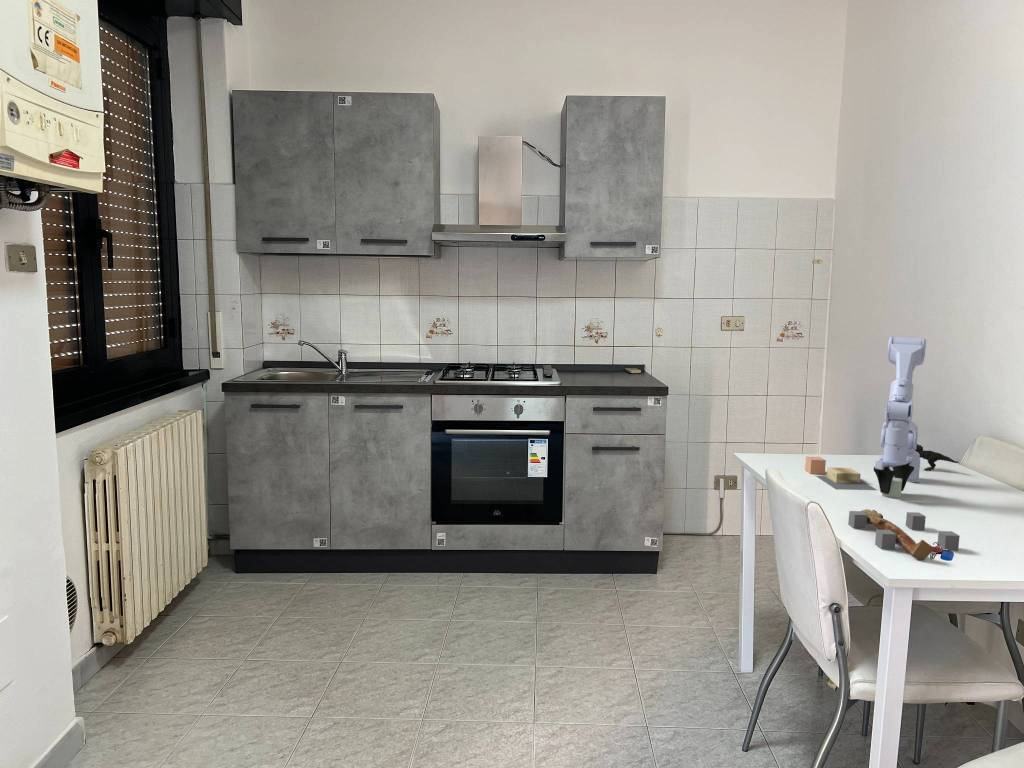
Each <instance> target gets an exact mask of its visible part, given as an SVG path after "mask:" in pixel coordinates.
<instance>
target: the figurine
mask: <svg viewBox="0 0 1024 768" xmlns="http://www.w3.org/2000/svg"><path fill="white" fill-rule="evenodd" d="M861 511H862V512H864V513H865V514H867V525H871V526H874V528H876V530H891V531H892V532H894V533H895V534H896V543H897V544H899V546H901V547H902V549H904V550H905V551H907V552H908V553H909V554H910V555H911V556H912V557H913V558H915V559H916V560H918V561H924V560H926V558H928V557H929V555H930V554H931V553H933V552H934V550H935V547H934V546H932V545H931V544H929V543H928V542H926V541H925V539H920V541H919V542H917V543H916V541H915V540H914V539H913V538H912V537H911V536H910V535H909V534H907V532H905V531H904V530H903V529H902V528H901V527H899V526H897V525H896V524H895V523H893V522H892V521H890V520H887V519H885V518H884V515H883V514H882V513H881V512H878V511H877V510H876V509H875V510H874V509H872V510H871V509H868V508H867V509H862V510H861ZM896 543H895V544H896Z"/></svg>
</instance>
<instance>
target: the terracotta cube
mask: <svg viewBox="0 0 1024 768" xmlns="http://www.w3.org/2000/svg"><path fill="white" fill-rule="evenodd" d="M804 462H805V463H804V471H805V472H806V473H808V474H809V475H825V474H826V466H827V465H826V464H827V463H826V462H827V460H826V459H825V458H823V457H821V456H805V461H804Z"/></svg>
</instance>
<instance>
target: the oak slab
mask: <svg viewBox="0 0 1024 768" xmlns="http://www.w3.org/2000/svg"><path fill="white" fill-rule="evenodd" d="M861 475H862V473H861V472H859V471H856V470H855V469H854V468H851V467H827V468H826V476H827V477H828V478H829V479H831V480H832V481H834V482H835V483H860V480H861Z"/></svg>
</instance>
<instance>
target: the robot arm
mask: <svg viewBox="0 0 1024 768" xmlns="http://www.w3.org/2000/svg"><path fill="white" fill-rule="evenodd" d="M926 344H927V339H926V338H925V337H922V338H921V337H900V336H897V337H896V336H890V337H889V338H888V344H887V359H888V362H889V363H890V364H893V365H895V367H896V368H895V369H896V370H895V378H896V379H894V380H893V381H891V383H890V386H889V387H890V389H889V394H888V396H889V398H888V401H887V402H886V406H885V414H884V417H885V418H884V419H885V421H884V422H883V424H882V428H881V433H880V447H881V448H883V456H880V457H879V460H876V461H875V462H874V463H875V464H874V466H873V471H874V473H875V476H876V477H877V481H878V485H879V491H880V493H881V494H882V493H885V494H889V492H890V487H891V482H892V479H893V478H901V479H902V488H901V492H903V491H904V489H905V487H906V484H907V482H909V483H920V482H921V480H920V469H921V458H920V456H919V453H918V452H916V451H915V450H916V447H917V444H918V432H919V431H918V429H919V428H918V425H917V424H916V423H915V422H914V421H912V420H913V419H912V418H913V412H914V411H913V410H914V405H913V404H914V403H913V396H914V395H913V393H914V384H913V376H914V375H913V374H914V373H913V372H914V370H915V369H916V367H917V366H920V365H923V363H924V362H925V357H926V347H927V345H926Z"/></svg>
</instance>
